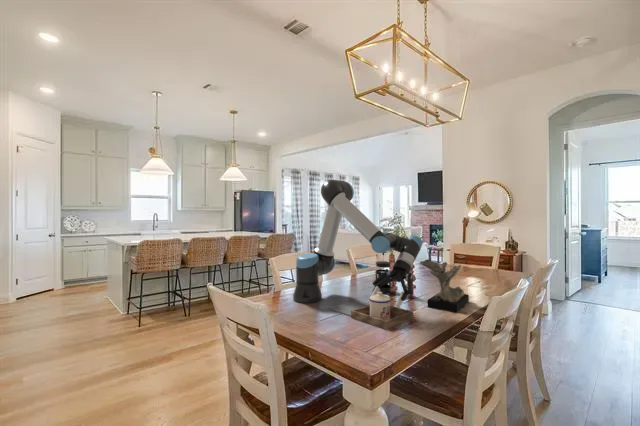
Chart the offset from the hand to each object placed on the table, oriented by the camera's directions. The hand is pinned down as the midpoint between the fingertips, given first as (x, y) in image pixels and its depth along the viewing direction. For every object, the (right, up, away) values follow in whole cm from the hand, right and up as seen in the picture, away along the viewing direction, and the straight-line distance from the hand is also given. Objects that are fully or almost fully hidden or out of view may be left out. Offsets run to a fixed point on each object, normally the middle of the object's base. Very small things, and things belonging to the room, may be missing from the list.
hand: (384, 303), depth 140 cm
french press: (+9, -6, +45) cm, 46 cm away
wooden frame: (-1, -7, 0) cm, 7 cm away
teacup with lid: (-1, -7, 0) cm, 7 cm away
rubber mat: (-14, -7, +13) cm, 20 cm away
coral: (+33, -7, +21) cm, 39 cm away
